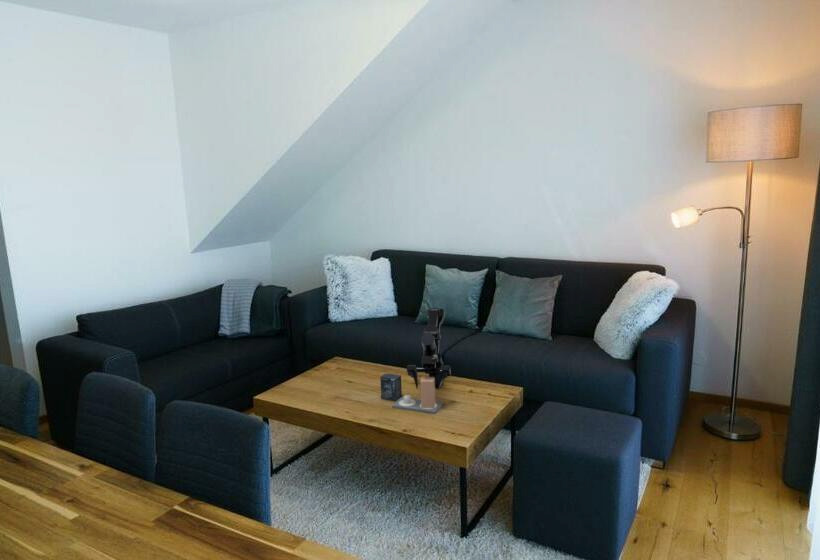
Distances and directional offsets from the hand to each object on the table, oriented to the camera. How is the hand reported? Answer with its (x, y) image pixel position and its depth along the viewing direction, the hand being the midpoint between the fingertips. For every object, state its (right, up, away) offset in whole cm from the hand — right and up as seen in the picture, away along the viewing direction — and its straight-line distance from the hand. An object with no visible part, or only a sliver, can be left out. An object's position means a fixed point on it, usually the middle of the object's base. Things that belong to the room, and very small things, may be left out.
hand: (427, 388), depth 248 cm
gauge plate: (-4, -8, +4) cm, 10 cm away
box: (-16, -7, +15) cm, 23 cm away
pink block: (0, -8, +2) cm, 8 cm away
